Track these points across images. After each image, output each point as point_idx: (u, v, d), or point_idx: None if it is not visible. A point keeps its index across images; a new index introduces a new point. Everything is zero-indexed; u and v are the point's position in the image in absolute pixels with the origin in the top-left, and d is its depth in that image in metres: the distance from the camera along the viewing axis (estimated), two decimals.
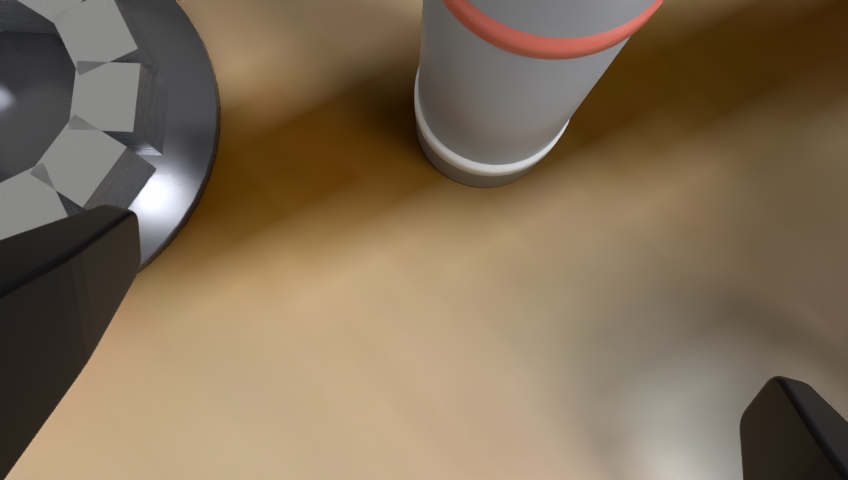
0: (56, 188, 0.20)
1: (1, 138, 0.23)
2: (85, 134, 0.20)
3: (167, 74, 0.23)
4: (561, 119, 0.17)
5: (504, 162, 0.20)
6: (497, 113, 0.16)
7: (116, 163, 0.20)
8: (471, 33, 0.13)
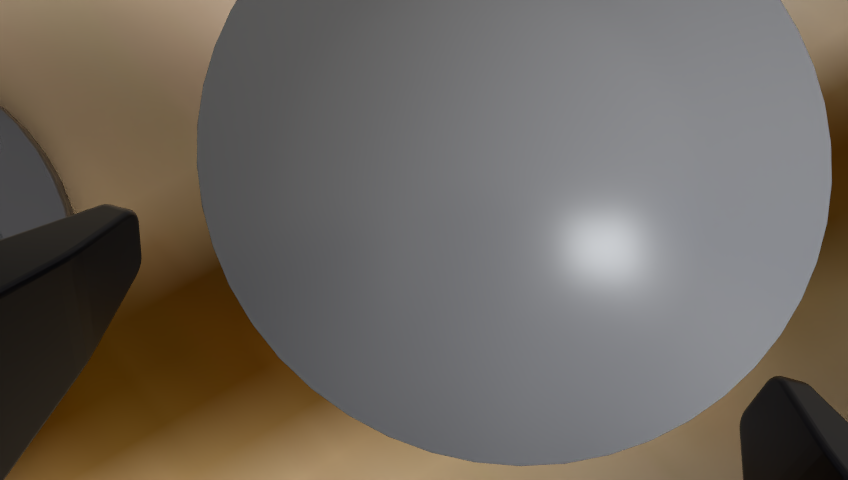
0: None
1: None
2: None
3: (6, 234, 0.17)
4: None
5: None
6: None
7: None
8: None
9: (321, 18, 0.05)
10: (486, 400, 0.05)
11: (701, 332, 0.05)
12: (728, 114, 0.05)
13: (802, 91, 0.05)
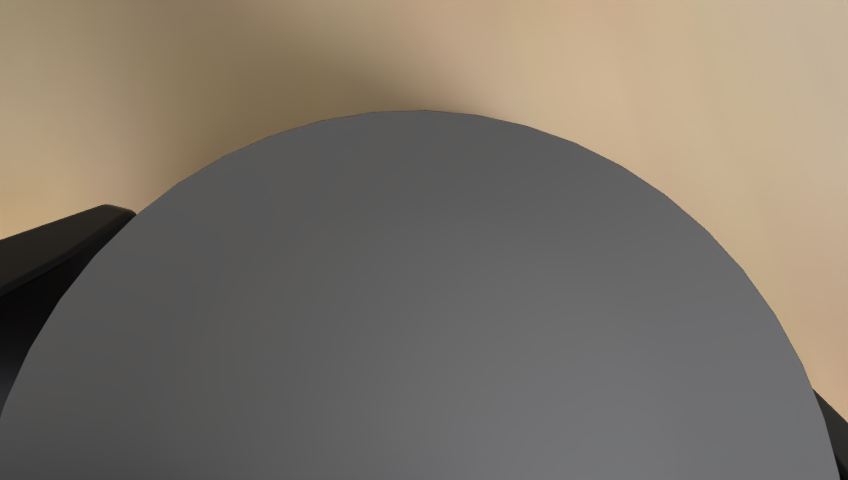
0: None
1: None
2: None
3: None
4: None
5: None
6: None
7: None
8: None
9: (151, 359, 0.04)
10: None
11: None
12: None
13: (808, 453, 0.04)
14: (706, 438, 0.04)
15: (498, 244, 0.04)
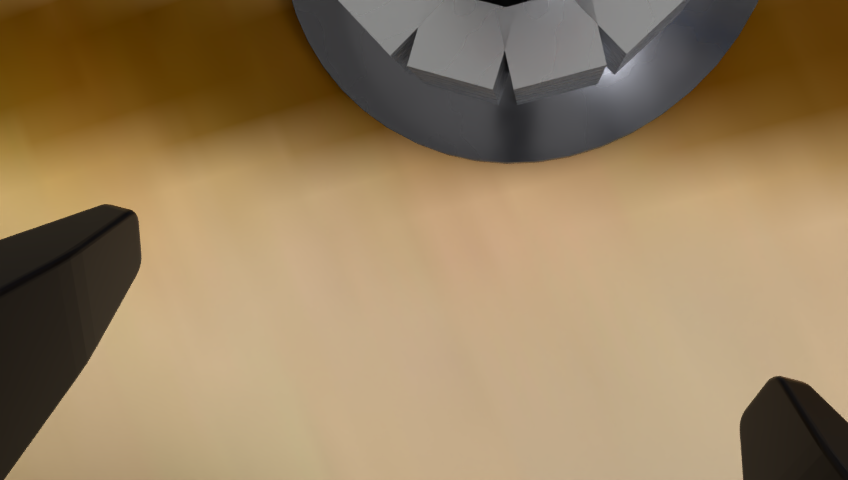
0: (599, 21, 0.15)
1: None
2: None
3: None
4: None
5: None
6: None
7: (681, 2, 0.15)
8: None
9: None
10: None
11: None
12: None
13: None
14: None
15: None
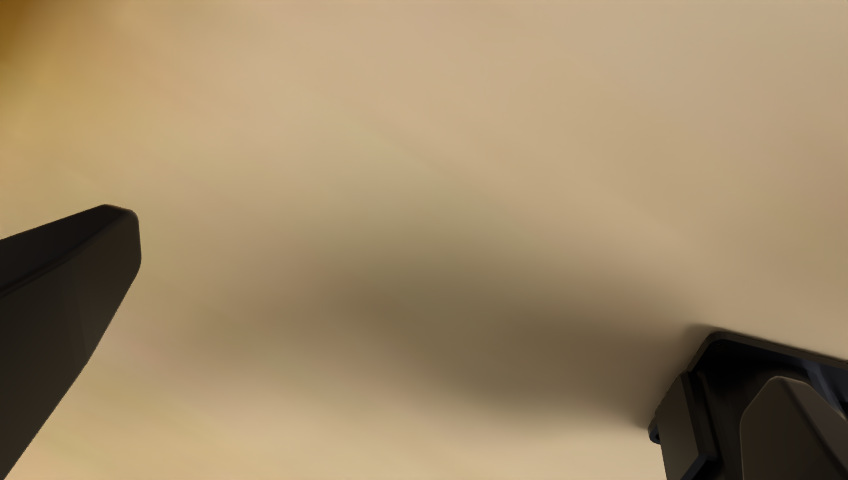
0: None
1: None
2: None
3: None
4: None
5: None
6: None
7: None
8: None
9: None
10: None
11: None
12: None
13: None
14: None
15: None
